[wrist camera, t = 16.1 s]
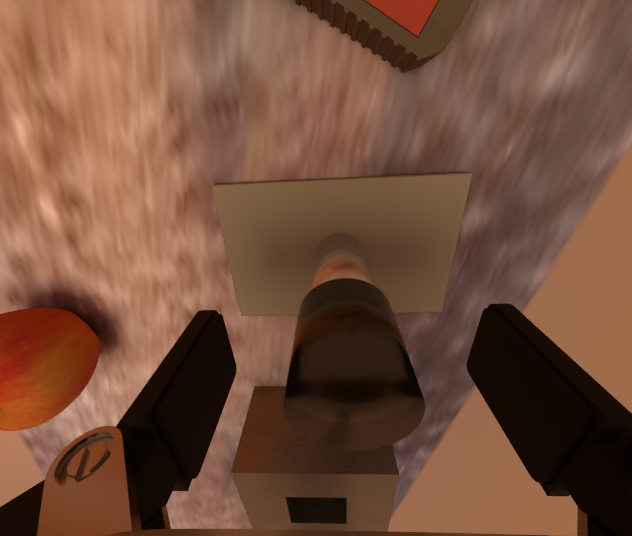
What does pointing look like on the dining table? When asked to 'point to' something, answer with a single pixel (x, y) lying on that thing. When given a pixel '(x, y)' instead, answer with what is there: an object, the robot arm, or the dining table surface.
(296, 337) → the brown beige cylinder
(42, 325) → the apple
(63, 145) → the dining table surface
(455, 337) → the dining table surface
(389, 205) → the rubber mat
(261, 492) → the block
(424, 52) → the walkie-talkie
